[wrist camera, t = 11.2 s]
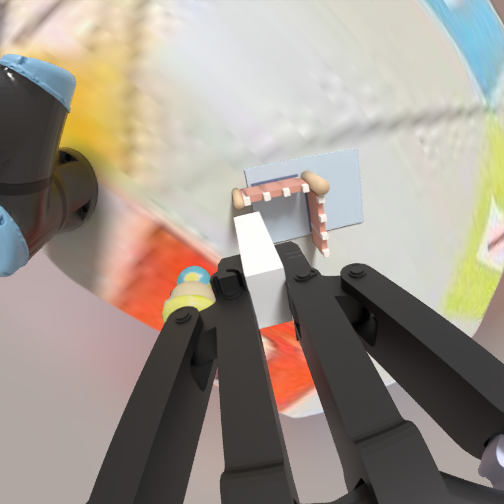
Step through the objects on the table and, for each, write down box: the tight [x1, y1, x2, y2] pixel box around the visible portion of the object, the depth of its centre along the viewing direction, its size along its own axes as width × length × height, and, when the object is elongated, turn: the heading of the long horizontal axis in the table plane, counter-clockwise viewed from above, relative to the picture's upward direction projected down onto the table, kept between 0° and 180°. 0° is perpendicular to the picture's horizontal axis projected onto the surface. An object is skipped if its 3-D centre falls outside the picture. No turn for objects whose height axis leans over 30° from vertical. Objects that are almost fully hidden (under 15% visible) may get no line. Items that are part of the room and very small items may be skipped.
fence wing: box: [307, 188, 330, 257], centre depth 45 cm, size 10×1×6 cm, turn 11°
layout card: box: [244, 149, 363, 243], centre depth 47 cm, size 20×14×1 cm
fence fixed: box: [232, 170, 330, 210], centre depth 42 cm, size 14×2×8 cm, turn 103°
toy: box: [162, 266, 216, 324], centre depth 44 cm, size 8×9×15 cm
